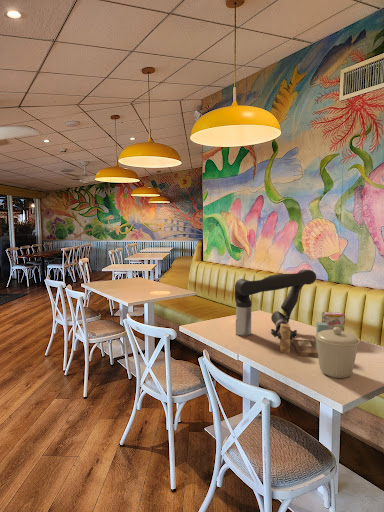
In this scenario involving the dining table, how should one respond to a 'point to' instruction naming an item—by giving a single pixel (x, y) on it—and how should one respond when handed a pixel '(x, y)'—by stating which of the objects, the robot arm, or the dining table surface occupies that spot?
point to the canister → (336, 352)
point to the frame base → (309, 343)
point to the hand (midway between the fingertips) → (285, 338)
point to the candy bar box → (334, 320)
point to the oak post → (285, 338)
